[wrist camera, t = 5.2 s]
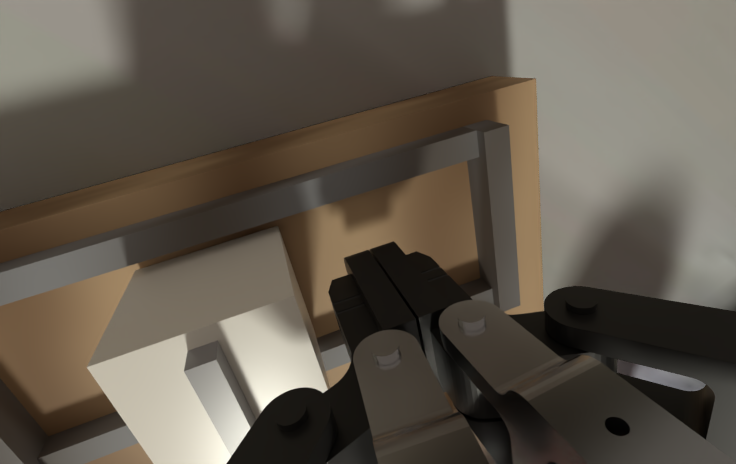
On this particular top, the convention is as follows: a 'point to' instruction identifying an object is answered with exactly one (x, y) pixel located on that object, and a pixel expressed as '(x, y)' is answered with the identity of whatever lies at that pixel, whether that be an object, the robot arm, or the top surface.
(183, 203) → the panel
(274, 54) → the top surface
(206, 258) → the slider
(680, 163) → the top surface
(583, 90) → the top surface
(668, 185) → the top surface
